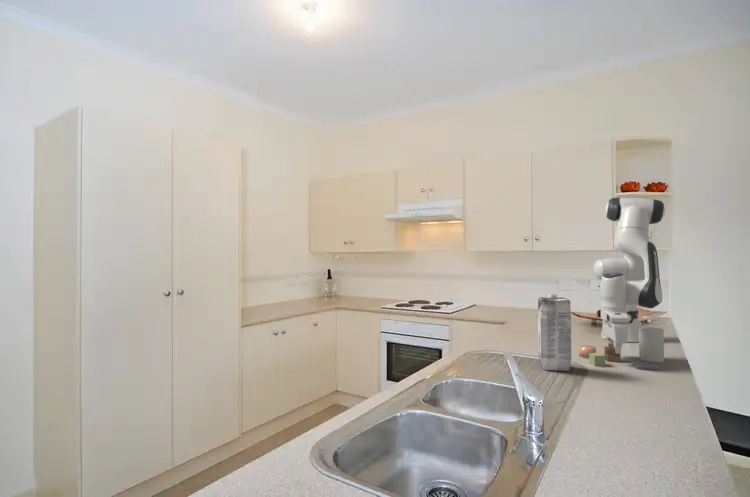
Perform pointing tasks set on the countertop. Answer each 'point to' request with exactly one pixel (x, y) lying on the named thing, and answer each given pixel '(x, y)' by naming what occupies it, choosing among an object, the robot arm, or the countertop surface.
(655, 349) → the cup
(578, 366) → the countertop surface
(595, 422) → the countertop surface
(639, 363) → the slate coaster
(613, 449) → the countertop surface
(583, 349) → the peach glossy ball
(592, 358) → the olive block
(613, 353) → the walnut block
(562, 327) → the juice carton
